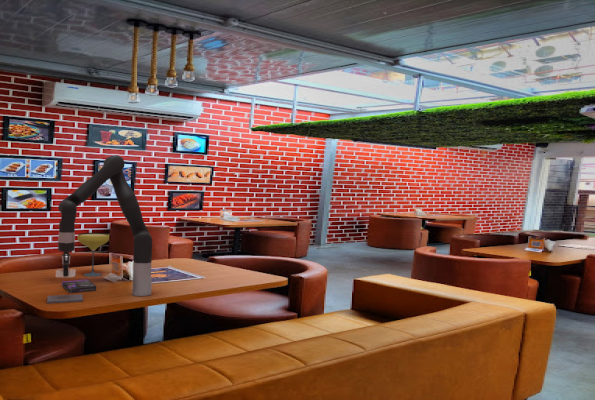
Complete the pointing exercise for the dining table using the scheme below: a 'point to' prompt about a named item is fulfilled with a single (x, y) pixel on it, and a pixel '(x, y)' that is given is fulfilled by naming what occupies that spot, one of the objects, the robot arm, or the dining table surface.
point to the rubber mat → (65, 298)
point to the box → (78, 286)
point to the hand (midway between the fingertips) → (65, 274)
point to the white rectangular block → (70, 273)
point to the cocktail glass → (93, 245)
